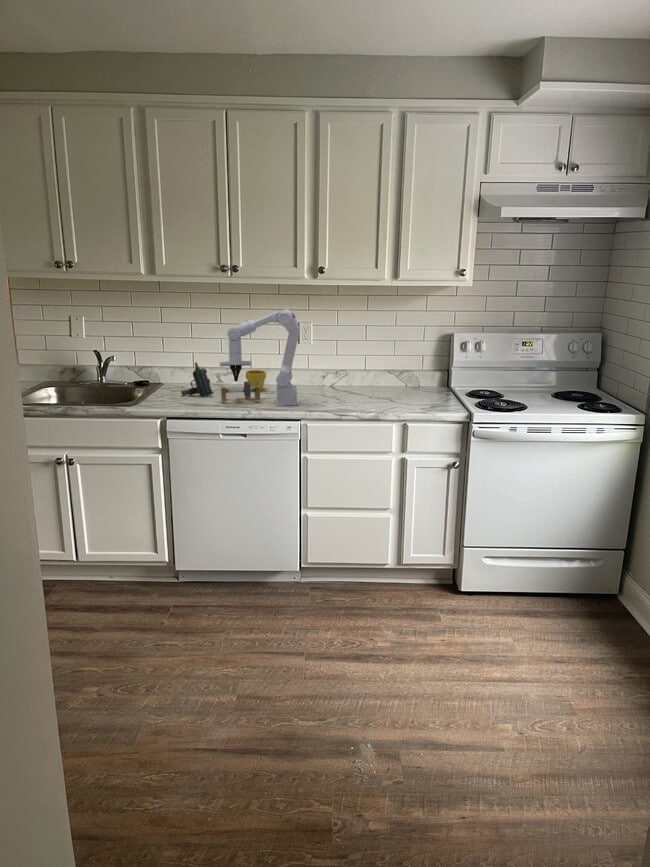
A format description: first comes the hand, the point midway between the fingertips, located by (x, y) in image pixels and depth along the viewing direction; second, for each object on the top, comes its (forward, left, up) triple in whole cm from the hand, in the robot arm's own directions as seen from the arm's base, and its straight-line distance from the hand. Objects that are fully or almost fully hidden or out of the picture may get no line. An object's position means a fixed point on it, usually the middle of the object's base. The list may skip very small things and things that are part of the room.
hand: (236, 381), depth 302 cm
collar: (-5, 0, -8) cm, 9 cm away
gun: (+18, -15, -11) cm, 26 cm away
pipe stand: (-2, 0, -10) cm, 10 cm away
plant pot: (-12, -23, -11) cm, 28 cm away
